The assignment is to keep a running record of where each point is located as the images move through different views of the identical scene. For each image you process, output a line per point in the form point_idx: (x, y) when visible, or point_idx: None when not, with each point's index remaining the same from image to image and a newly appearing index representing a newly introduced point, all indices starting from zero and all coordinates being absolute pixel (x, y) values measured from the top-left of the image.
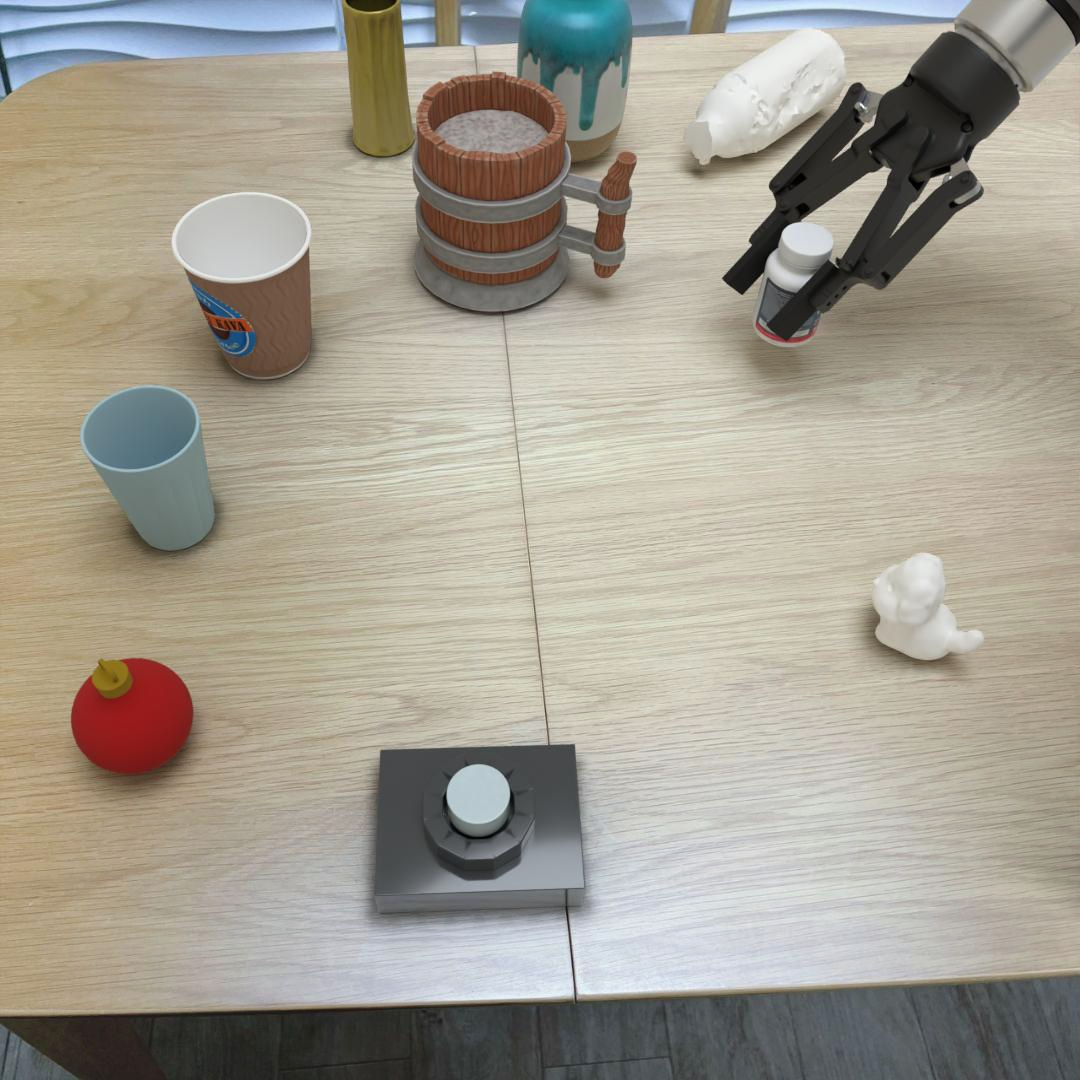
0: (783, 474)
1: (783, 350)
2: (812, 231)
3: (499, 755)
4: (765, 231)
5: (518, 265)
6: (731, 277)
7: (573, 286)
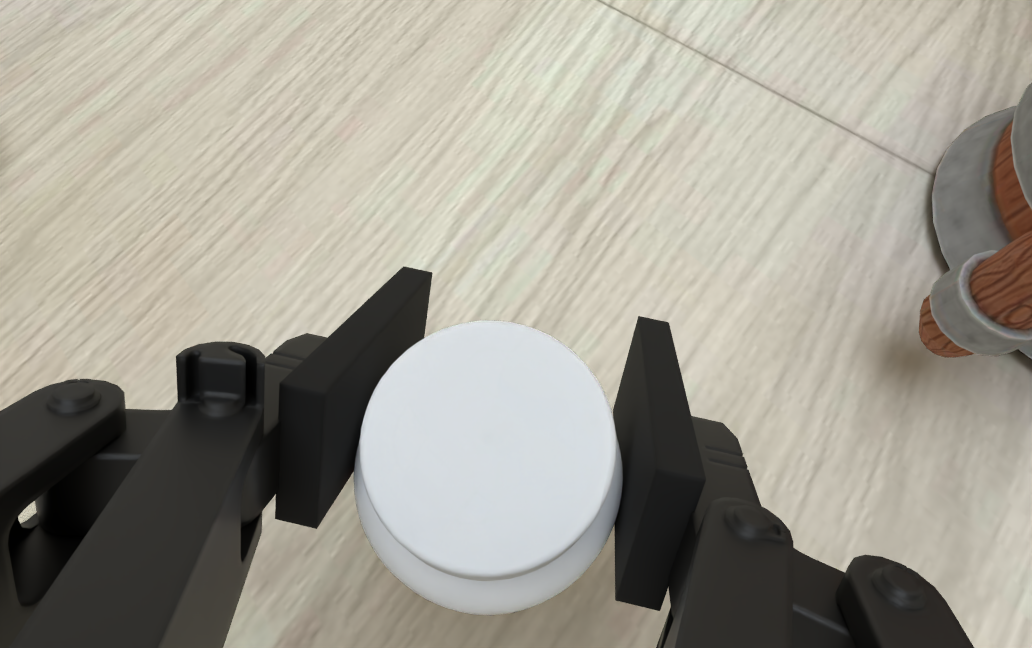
0: (268, 279)
1: None
2: (507, 494)
3: None
4: (689, 422)
5: (1022, 122)
6: (644, 327)
7: None
